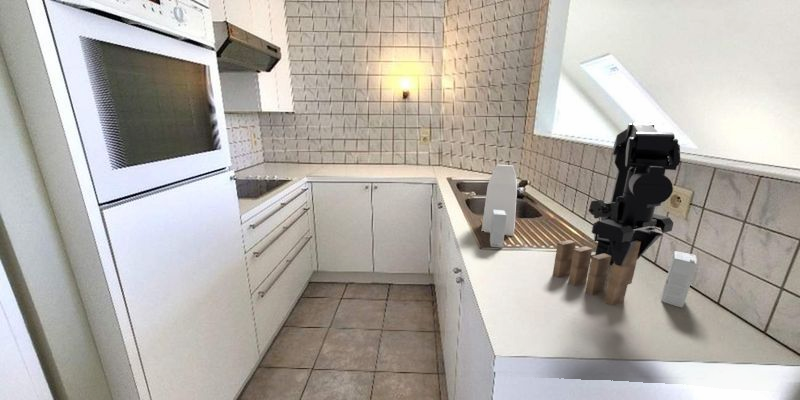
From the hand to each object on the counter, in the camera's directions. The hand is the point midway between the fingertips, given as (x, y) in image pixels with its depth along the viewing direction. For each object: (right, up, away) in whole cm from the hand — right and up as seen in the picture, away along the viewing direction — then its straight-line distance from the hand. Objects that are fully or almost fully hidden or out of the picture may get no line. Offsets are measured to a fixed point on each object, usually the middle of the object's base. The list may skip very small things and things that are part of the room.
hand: (625, 263), depth 69 cm
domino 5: (+4, -11, +9) cm, 15 cm away
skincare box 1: (-15, -2, +43) cm, 46 cm away
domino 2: (0, -9, +18) cm, 20 cm away
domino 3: (+2, -10, +14) cm, 17 cm away
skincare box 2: (+19, -12, +10) cm, 24 cm away
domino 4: (0, -5, +1) cm, 5 cm away
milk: (-10, +2, +59) cm, 60 cm away
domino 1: (-3, -8, +22) cm, 24 cm away
